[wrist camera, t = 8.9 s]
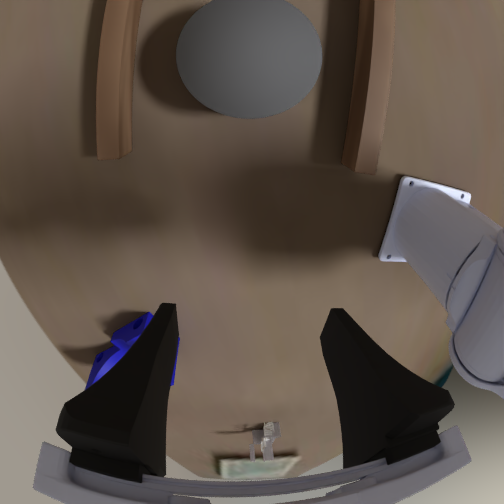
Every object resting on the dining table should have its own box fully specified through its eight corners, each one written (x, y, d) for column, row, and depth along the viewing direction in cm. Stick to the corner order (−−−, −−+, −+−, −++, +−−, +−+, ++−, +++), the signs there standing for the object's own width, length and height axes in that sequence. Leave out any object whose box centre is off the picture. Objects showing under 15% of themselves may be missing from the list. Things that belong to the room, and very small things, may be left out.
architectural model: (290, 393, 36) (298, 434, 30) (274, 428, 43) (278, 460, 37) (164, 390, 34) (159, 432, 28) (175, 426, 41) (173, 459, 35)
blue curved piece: (149, 310, 25) (136, 359, 20) (179, 336, 27) (173, 384, 22) (87, 347, 28) (73, 386, 23) (114, 367, 30) (104, 405, 25)
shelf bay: (377, -46, 9) (392, -56, 7) (359, 165, 19) (374, 175, 17) (140, -69, 7) (132, -82, 5) (112, 152, 17) (97, 160, 15)
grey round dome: (311, 19, 13) (327, 5, 10) (299, 121, 17) (313, 126, 14) (192, 8, 12) (184, -10, 9) (181, 113, 16) (171, 116, 13)
